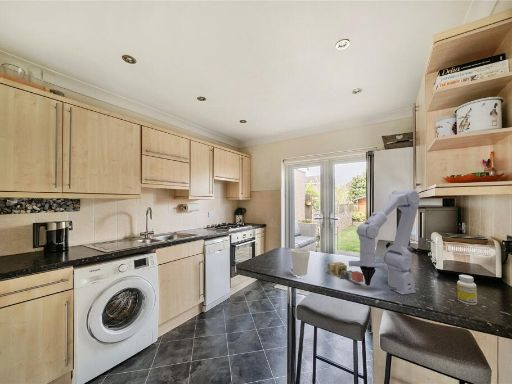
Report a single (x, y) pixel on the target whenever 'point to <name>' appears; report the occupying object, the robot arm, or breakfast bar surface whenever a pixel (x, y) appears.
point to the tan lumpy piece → (337, 268)
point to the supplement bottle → (466, 290)
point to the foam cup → (300, 261)
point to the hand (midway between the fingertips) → (367, 284)
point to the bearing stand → (342, 276)
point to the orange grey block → (354, 275)
